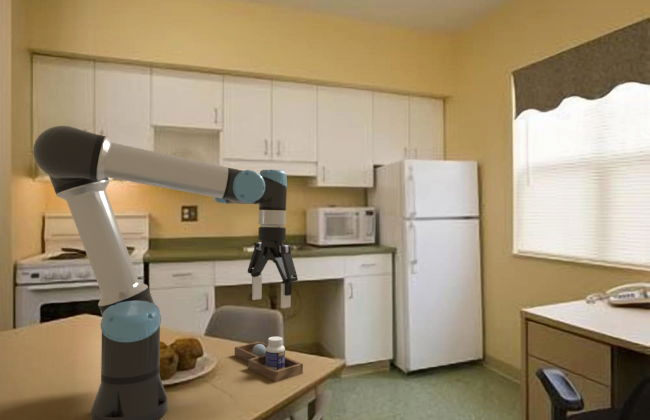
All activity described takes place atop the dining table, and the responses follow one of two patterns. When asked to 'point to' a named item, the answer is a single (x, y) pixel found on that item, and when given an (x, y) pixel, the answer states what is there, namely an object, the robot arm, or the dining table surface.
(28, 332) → the dining table surface
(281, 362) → the pill bottle
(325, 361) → the dining table surface
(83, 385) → the dining table surface
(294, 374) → the cradle
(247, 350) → the cradle
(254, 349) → the ball
